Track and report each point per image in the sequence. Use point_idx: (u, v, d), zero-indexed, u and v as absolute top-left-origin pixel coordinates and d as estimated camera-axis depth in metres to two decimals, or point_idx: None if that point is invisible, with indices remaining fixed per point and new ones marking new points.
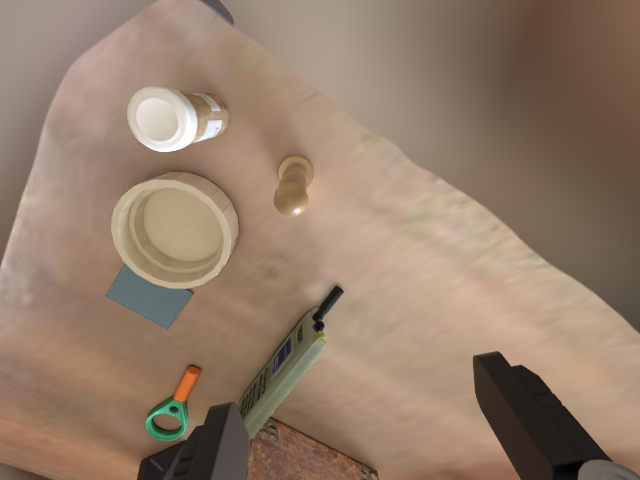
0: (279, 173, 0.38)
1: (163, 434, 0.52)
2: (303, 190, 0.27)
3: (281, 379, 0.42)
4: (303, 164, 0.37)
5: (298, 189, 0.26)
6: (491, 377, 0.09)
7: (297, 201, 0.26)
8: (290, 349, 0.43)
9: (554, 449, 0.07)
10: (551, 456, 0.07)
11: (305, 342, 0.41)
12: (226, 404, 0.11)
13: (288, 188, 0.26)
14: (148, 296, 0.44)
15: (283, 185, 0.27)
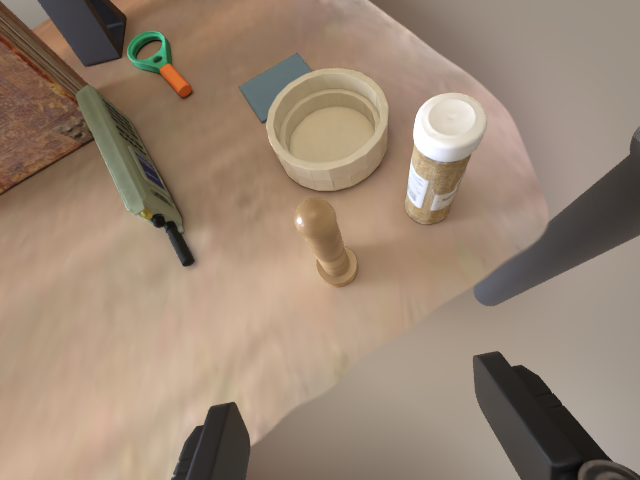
0: (344, 247, 0.33)
1: (139, 42, 0.50)
2: (319, 234, 0.21)
3: (121, 154, 0.35)
4: (343, 275, 0.32)
5: (322, 228, 0.21)
6: (491, 377, 0.09)
7: (310, 220, 0.21)
8: (150, 180, 0.36)
9: (554, 449, 0.07)
10: (551, 456, 0.07)
11: (148, 195, 0.34)
12: (226, 404, 0.11)
13: (329, 216, 0.21)
14: (278, 84, 0.43)
15: (334, 215, 0.22)
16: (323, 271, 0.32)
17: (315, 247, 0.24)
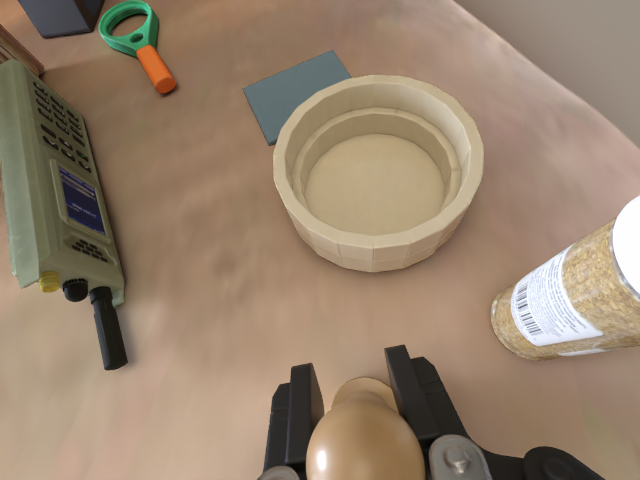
0: (383, 386, 0.19)
1: (118, 13, 0.37)
2: None
3: (30, 173, 0.21)
4: None
5: None
6: (390, 367, 0.11)
7: None
8: (75, 219, 0.22)
9: (420, 427, 0.09)
10: (416, 432, 0.08)
11: (56, 251, 0.19)
12: (306, 364, 0.12)
13: None
14: (300, 91, 0.29)
15: (424, 475, 0.08)
16: None
17: None
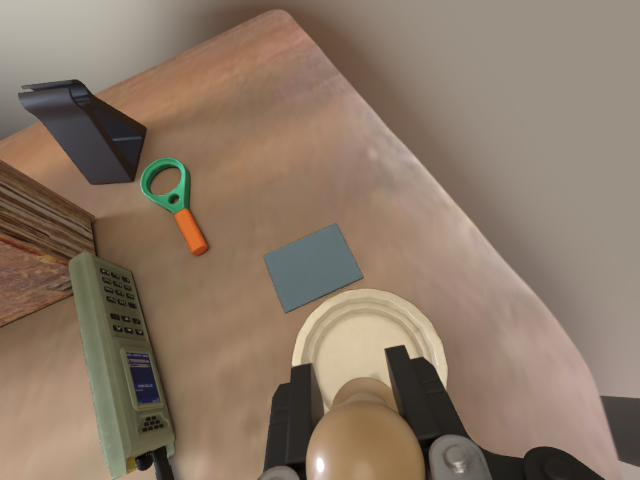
0: (383, 386, 0.19)
1: (155, 168, 0.44)
2: None
3: (110, 372, 0.28)
4: None
5: None
6: (390, 367, 0.11)
7: None
8: (141, 401, 0.29)
9: (420, 427, 0.09)
10: (416, 432, 0.08)
11: (134, 444, 0.27)
12: (306, 364, 0.12)
13: None
14: (310, 264, 0.36)
15: (424, 475, 0.08)
16: None
17: None
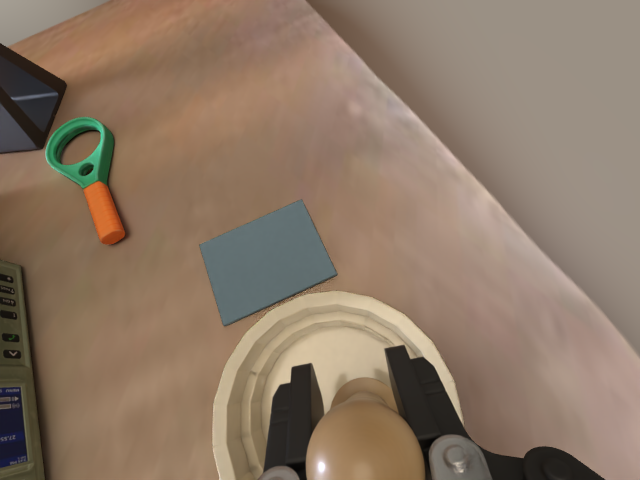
0: (383, 386, 0.19)
1: (69, 131, 0.33)
2: None
3: None
4: None
5: None
6: (390, 367, 0.11)
7: None
8: None
9: (420, 427, 0.09)
10: (416, 432, 0.08)
11: None
12: (306, 364, 0.12)
13: None
14: (263, 255, 0.26)
15: (424, 475, 0.08)
16: None
17: None
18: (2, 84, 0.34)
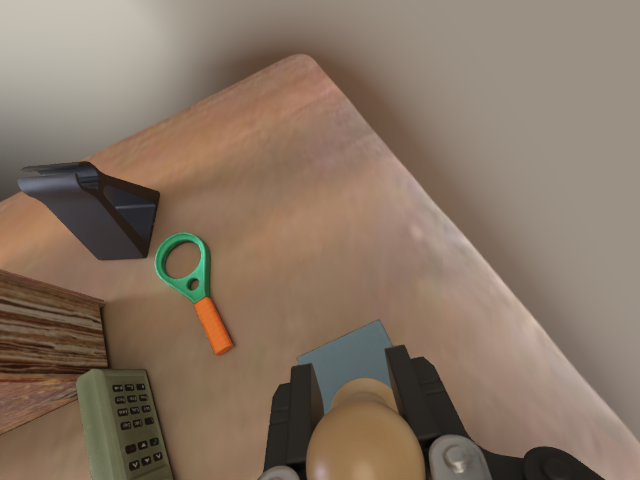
0: (383, 386, 0.19)
1: (171, 244, 0.39)
2: None
3: None
4: None
5: None
6: (390, 367, 0.11)
7: None
8: None
9: (420, 427, 0.09)
10: (416, 432, 0.08)
11: None
12: (306, 364, 0.12)
13: None
14: (351, 371, 0.32)
15: (424, 475, 0.07)
16: None
17: None
18: (111, 201, 0.40)
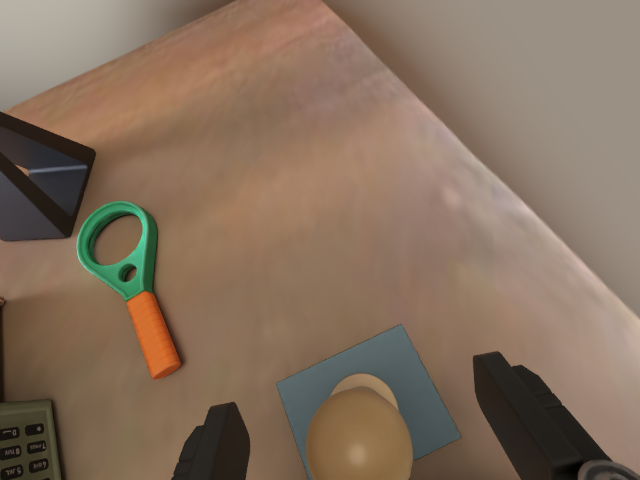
0: (378, 381, 0.19)
1: (103, 218, 0.28)
2: None
3: None
4: None
5: None
6: (491, 377, 0.09)
7: None
8: None
9: (554, 449, 0.07)
10: (551, 456, 0.07)
11: None
12: (226, 404, 0.11)
13: (402, 473, 0.08)
14: None
15: (412, 455, 0.08)
16: None
17: None
18: (22, 159, 0.29)
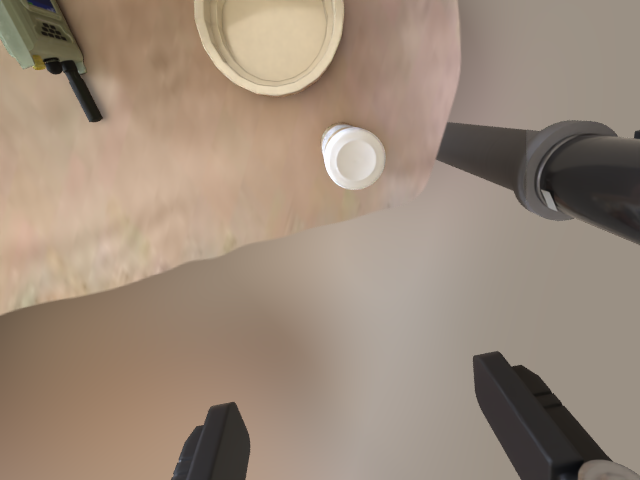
0: None
1: None
2: None
3: None
4: None
5: None
6: (491, 377, 0.09)
7: None
8: (32, 2, 0.28)
9: (554, 449, 0.07)
10: (551, 456, 0.07)
11: (35, 41, 0.28)
12: (226, 404, 0.11)
13: None
14: None
15: None
16: None
17: None
18: None
